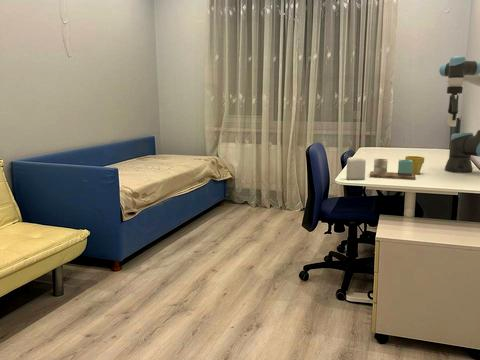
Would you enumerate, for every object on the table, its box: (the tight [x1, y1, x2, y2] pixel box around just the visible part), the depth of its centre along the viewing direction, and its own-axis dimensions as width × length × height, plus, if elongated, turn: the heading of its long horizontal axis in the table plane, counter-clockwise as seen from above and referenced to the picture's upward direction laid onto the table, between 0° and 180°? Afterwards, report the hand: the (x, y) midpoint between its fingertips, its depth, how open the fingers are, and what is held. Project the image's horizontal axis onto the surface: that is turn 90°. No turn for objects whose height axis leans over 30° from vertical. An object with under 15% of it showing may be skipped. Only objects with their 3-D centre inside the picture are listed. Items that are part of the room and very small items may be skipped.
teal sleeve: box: [397, 159, 413, 176], centre depth 244 cm, size 7×7×8 cm
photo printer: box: [345, 156, 367, 180], centre depth 238 cm, size 10×4×12 cm, turn 96°
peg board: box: [369, 157, 417, 181], centre depth 246 cm, size 24×12×10 cm, turn 71°
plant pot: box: [404, 155, 425, 175], centre depth 257 cm, size 10×10×10 cm
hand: (451, 125), depth 240 cm, fingers open, 13 cm apart
